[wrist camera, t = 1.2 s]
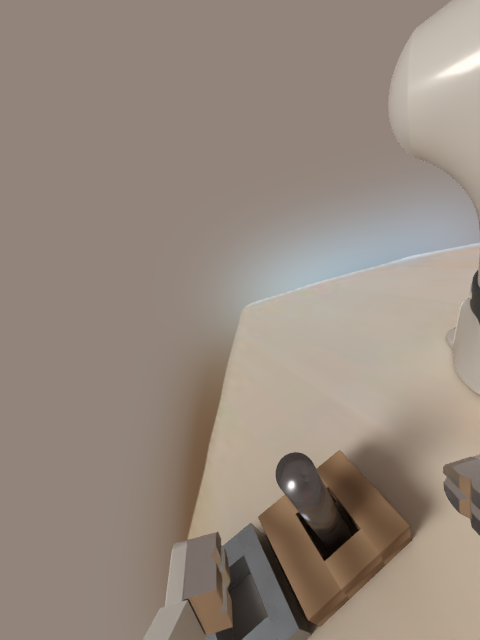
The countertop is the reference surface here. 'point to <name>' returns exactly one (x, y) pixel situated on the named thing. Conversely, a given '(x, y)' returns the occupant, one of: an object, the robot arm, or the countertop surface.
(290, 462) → the steel axle
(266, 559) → the socket block
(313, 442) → the countertop surface
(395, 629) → the countertop surface
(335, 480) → the wooden square hole block
